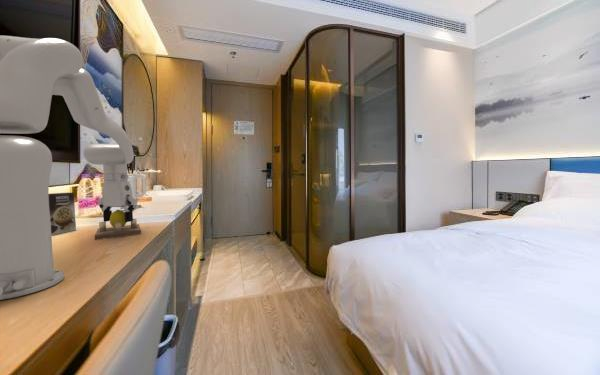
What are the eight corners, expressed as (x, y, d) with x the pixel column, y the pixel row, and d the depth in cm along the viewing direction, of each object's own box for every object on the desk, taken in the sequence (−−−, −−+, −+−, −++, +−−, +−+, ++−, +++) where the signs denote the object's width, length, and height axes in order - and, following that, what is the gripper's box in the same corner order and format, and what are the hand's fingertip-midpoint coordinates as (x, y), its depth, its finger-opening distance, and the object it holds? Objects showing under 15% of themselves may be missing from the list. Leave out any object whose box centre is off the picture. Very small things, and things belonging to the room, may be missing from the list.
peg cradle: (140, 233, 98) (140, 221, 98) (94, 239, 90) (94, 226, 90) (139, 227, 110) (138, 216, 110) (98, 232, 102) (97, 220, 101)
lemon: (126, 227, 104) (125, 208, 103) (128, 229, 100) (127, 209, 99) (109, 229, 100) (108, 209, 99) (111, 231, 96) (110, 211, 95)
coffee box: (51, 236, 97) (48, 194, 96) (38, 235, 98) (35, 194, 97) (77, 230, 106) (74, 192, 105) (65, 230, 107) (62, 192, 106)
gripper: (142, 177, 101) (144, 220, 102) (106, 177, 104) (108, 219, 105) (126, 178, 94) (129, 223, 95) (87, 178, 97) (90, 222, 98)
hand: (118, 221), depth 100 cm, fingers open, 9 cm apart
